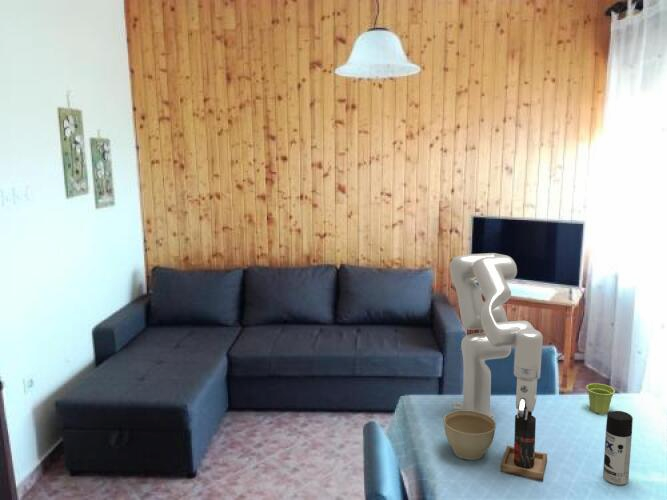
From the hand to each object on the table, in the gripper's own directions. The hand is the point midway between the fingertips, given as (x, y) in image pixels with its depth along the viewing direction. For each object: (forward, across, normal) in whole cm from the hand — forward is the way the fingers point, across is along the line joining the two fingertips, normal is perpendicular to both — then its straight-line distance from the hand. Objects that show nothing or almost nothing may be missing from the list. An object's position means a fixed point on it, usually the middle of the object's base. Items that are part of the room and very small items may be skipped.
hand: (523, 422), depth 165 cm
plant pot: (+15, +48, -21) cm, 54 cm away
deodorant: (+13, -1, -1) cm, 13 cm away
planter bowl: (+15, 0, +16) cm, 22 cm away
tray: (+14, -1, -1) cm, 14 cm away
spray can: (+14, +3, -26) cm, 29 cm away
